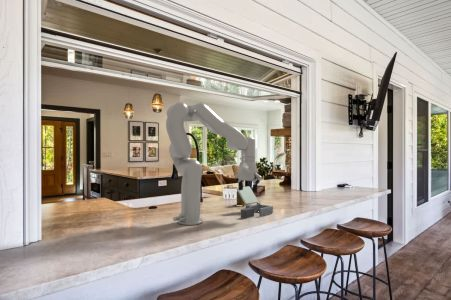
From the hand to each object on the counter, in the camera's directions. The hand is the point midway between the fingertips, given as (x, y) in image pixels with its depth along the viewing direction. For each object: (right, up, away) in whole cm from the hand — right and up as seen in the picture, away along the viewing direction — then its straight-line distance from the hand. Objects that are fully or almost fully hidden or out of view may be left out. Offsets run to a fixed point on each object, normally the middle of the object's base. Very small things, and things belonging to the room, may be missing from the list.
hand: (247, 190), depth 161 cm
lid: (+1, -4, +15) cm, 15 cm away
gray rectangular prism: (0, -15, 0) cm, 15 cm away
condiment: (-2, -15, +35) cm, 38 cm away
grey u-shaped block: (+8, -15, +9) cm, 19 cm away
